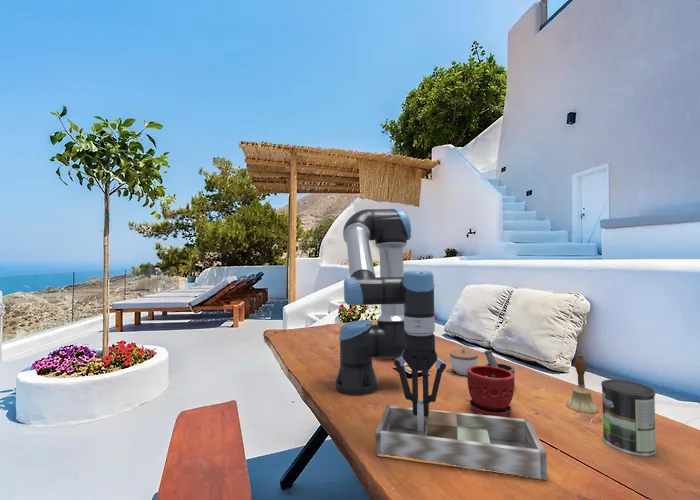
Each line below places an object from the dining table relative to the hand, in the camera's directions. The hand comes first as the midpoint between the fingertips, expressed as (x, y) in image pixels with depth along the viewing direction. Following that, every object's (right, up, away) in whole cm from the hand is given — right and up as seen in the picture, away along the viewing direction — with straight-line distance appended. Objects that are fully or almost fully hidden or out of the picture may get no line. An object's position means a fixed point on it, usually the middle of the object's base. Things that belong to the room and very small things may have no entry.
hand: (421, 428), depth 86 cm
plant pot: (+25, -4, +18) cm, 31 cm away
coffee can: (+51, -4, -1) cm, 51 cm away
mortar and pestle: (+35, -5, +38) cm, 52 cm away
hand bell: (+53, -4, +20) cm, 57 cm away
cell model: (+2, -6, +76) cm, 76 cm away
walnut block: (+5, -1, -1) cm, 5 cm away
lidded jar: (+28, -5, +53) cm, 60 cm away
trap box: (+8, -4, -2) cm, 9 cm away
